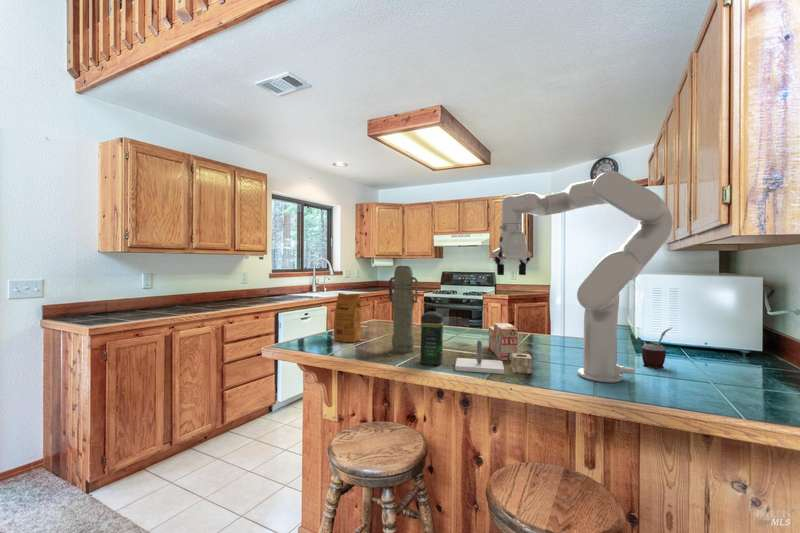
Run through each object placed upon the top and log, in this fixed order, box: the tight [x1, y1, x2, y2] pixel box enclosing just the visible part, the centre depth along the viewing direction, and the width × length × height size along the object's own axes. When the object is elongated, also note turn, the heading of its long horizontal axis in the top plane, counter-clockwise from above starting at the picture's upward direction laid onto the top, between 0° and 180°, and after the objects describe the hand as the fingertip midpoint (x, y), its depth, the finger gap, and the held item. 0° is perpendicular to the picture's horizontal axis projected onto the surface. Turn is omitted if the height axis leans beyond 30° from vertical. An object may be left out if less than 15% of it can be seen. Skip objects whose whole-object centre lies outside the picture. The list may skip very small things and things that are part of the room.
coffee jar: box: [419, 310, 444, 366], centre depth 135 cm, size 10×8×19 cm
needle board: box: [454, 339, 505, 375], centre depth 129 cm, size 16×11×10 cm
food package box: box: [488, 322, 519, 361], centre depth 149 cm, size 21×6×12 cm, turn 178°
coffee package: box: [333, 292, 362, 343], centre depth 171 cm, size 10×12×22 cm
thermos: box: [388, 265, 418, 354], centre depth 152 cm, size 9×12×35 cm
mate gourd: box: [641, 327, 673, 370], centre depth 131 cm, size 8×8×15 cm
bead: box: [510, 352, 533, 374], centre depth 126 cm, size 6×6×5 cm
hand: (511, 274), depth 139 cm, fingers open, 9 cm apart
